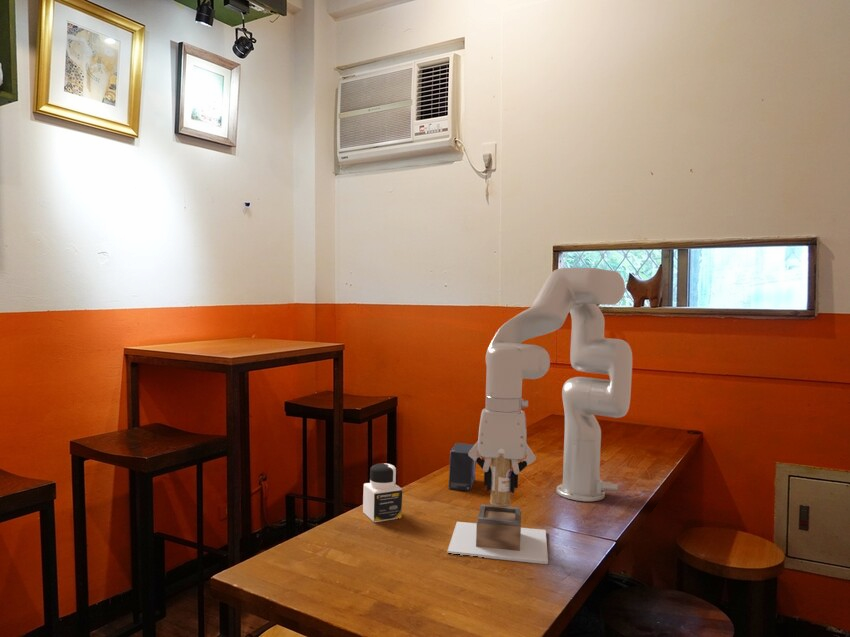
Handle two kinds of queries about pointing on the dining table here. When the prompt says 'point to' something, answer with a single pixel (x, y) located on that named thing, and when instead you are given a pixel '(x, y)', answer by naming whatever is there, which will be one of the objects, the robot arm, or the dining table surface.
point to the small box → (461, 467)
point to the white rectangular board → (530, 549)
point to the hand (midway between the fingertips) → (500, 489)
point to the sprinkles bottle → (500, 481)
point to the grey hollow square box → (499, 527)
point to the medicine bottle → (382, 494)
